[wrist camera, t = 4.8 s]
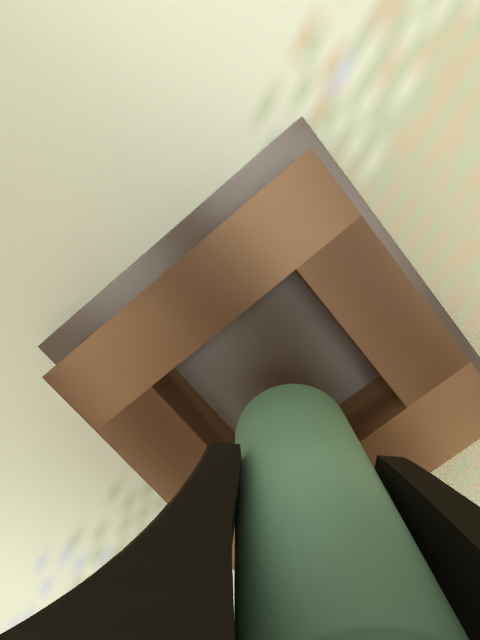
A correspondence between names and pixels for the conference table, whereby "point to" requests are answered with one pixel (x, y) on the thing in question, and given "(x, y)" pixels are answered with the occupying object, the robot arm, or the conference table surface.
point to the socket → (268, 326)
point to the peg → (323, 533)
